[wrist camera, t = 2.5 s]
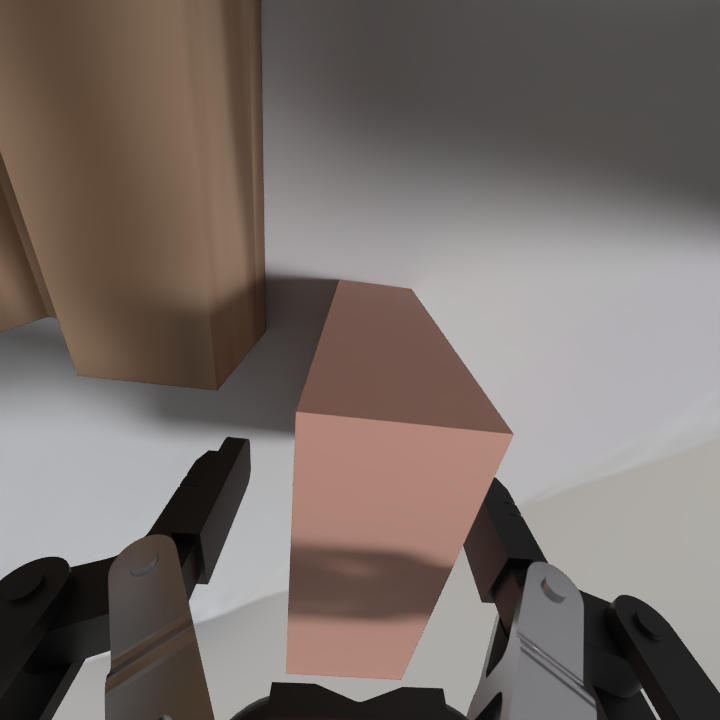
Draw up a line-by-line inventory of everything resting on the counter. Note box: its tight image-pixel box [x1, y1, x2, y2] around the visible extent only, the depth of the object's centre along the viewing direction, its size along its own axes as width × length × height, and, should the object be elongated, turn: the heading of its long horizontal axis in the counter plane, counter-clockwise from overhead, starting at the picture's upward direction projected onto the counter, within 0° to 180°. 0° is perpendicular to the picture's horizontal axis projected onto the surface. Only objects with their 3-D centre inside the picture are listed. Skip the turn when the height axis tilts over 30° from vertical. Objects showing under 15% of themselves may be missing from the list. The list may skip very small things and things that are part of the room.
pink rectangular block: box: [286, 280, 514, 680], centre depth 13 cm, size 4×11×12 cm, turn 173°
